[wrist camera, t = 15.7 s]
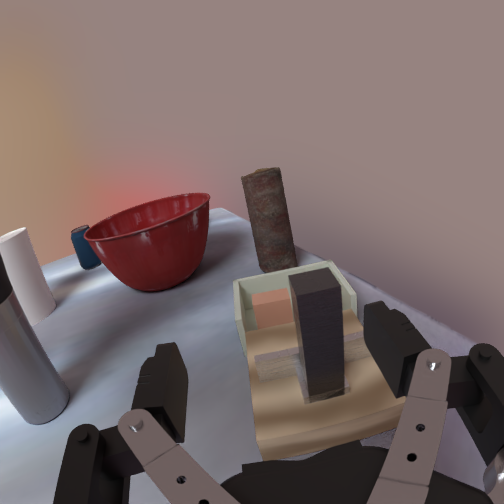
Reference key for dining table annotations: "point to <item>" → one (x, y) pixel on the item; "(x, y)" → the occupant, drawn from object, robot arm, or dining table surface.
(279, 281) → the tray
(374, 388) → the curved wooden platform
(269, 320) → the tile
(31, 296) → the canister
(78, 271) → the dining table surface
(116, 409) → the dining table surface
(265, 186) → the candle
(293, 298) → the dark piece
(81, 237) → the soda can
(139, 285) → the mixing bowl
